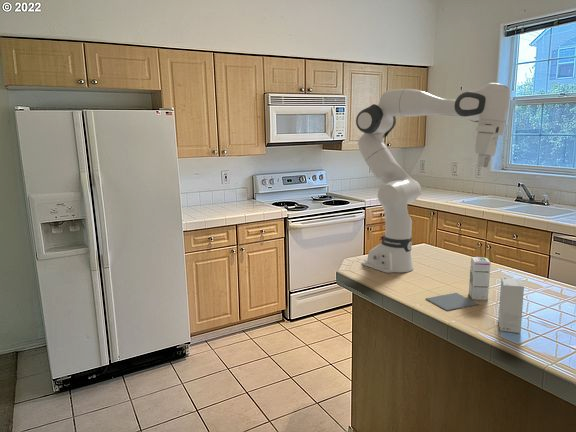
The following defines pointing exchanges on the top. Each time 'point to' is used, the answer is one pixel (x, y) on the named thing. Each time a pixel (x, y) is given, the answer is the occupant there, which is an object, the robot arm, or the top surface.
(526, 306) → the top surface
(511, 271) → the top surface
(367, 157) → the robot arm
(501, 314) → the skincare box
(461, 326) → the top surface
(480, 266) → the syrup box
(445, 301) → the mat
